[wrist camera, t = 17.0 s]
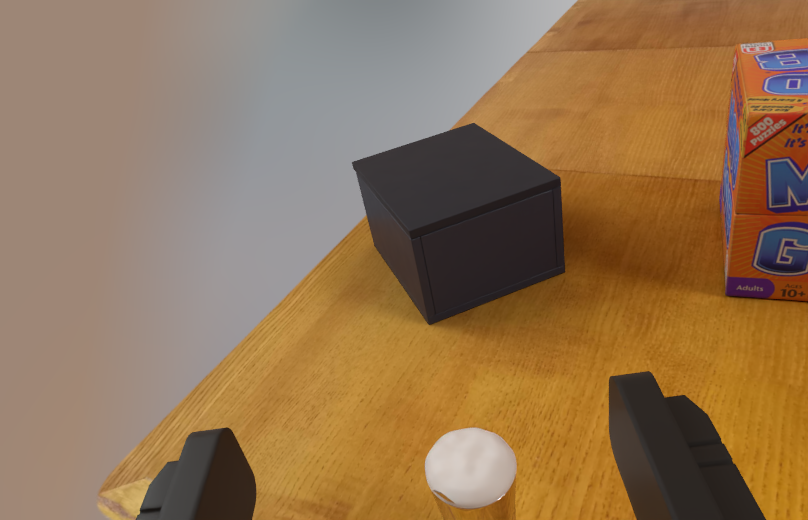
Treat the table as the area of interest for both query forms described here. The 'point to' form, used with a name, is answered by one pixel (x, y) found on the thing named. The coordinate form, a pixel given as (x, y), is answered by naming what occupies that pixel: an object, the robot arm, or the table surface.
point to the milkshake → (472, 476)
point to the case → (472, 253)
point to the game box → (766, 172)
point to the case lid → (451, 178)
